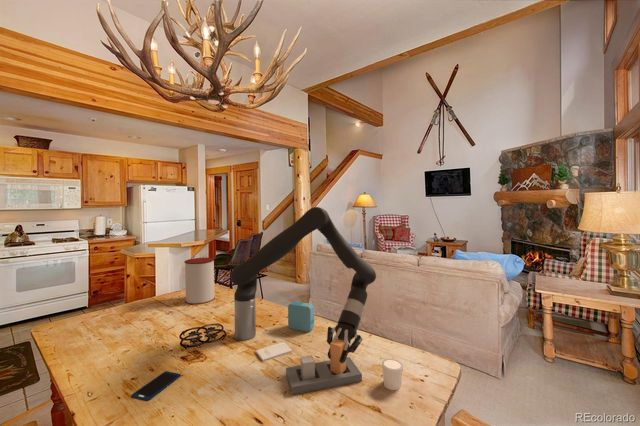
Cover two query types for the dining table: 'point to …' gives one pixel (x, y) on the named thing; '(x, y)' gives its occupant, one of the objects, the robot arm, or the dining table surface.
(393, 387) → the shot glass
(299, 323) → the data package
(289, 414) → the dining table surface
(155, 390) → the cell phone
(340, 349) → the plug
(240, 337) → the robot arm
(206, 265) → the container
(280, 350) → the external hard drive
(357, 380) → the grey block holder
